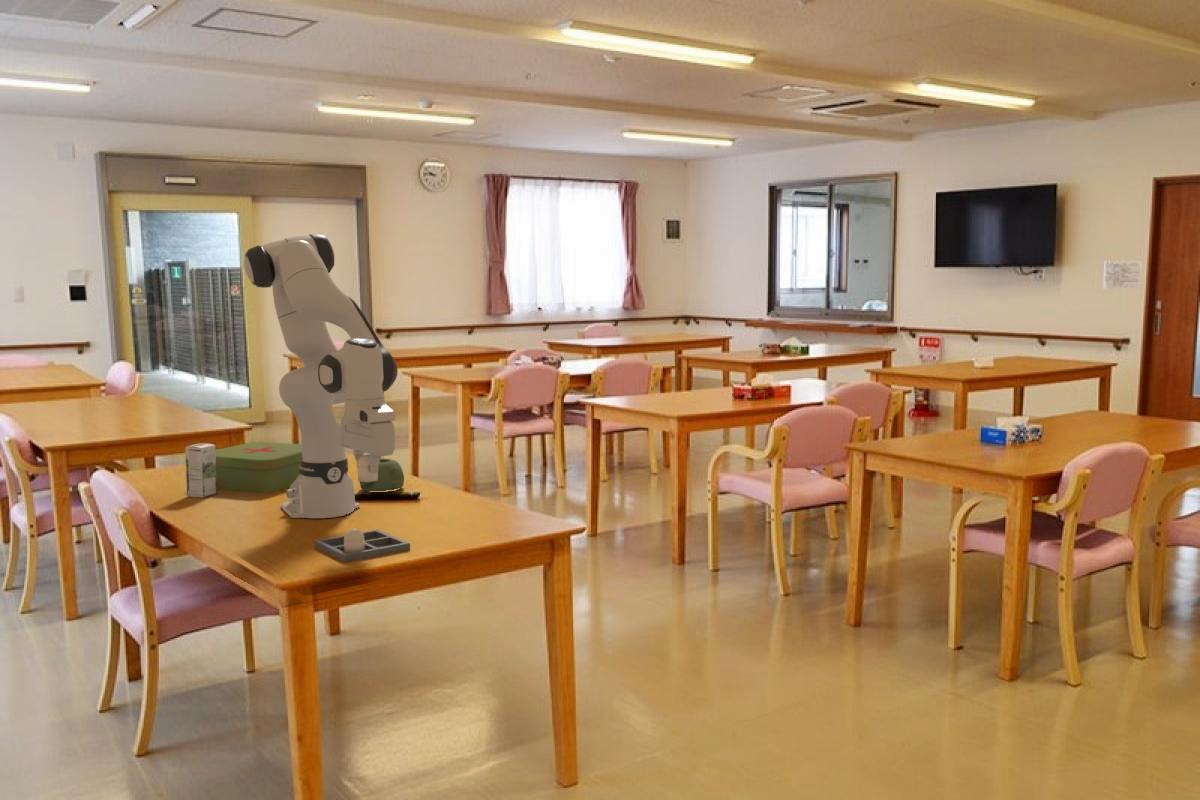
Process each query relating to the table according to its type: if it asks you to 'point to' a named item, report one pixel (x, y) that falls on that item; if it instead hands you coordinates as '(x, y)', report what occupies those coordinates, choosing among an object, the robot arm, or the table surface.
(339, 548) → the carton
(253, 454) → the first aid kit
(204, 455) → the syrup box
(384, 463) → the green pot
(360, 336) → the robot arm
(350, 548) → the resting egg
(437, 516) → the table surface
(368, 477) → the egg
